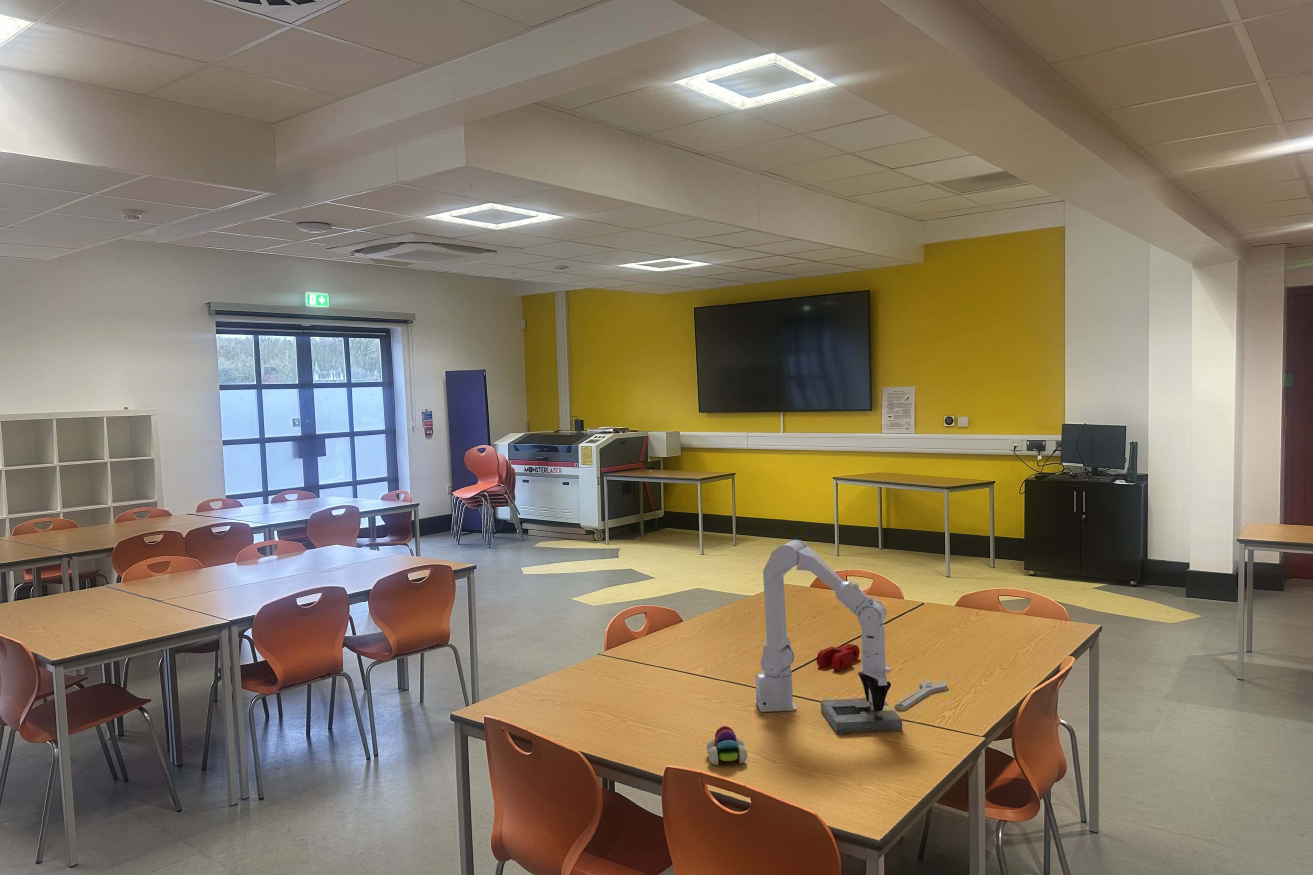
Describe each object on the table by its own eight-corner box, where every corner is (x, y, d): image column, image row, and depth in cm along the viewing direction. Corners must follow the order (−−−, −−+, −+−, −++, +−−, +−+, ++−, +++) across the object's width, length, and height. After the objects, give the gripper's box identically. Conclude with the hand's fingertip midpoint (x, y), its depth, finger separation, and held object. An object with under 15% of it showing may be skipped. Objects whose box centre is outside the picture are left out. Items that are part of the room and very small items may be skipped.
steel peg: (869, 723, 213) (868, 691, 213) (863, 717, 217) (862, 686, 217) (886, 722, 213) (885, 690, 213) (880, 716, 218) (879, 684, 217)
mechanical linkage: (836, 673, 254) (836, 656, 254) (816, 668, 259) (816, 652, 259) (866, 660, 265) (866, 644, 265) (846, 656, 270) (846, 640, 270)
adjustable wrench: (902, 713, 220) (902, 707, 220) (880, 708, 225) (880, 701, 225) (950, 688, 237) (950, 682, 237) (929, 684, 242) (928, 677, 242)
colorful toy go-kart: (742, 750, 199) (741, 719, 199) (748, 767, 189) (747, 735, 189) (706, 752, 199) (705, 721, 199) (710, 769, 189) (709, 737, 189)
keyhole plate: (836, 734, 207) (836, 722, 207) (820, 710, 223) (820, 700, 223) (902, 730, 207) (902, 719, 207) (881, 707, 223) (881, 697, 223)
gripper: (898, 658, 208) (900, 714, 208) (880, 642, 222) (881, 694, 222) (869, 660, 207) (871, 715, 208) (853, 643, 222) (854, 696, 222)
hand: (874, 705), depth 215 cm, fingers open, 5 cm apart
